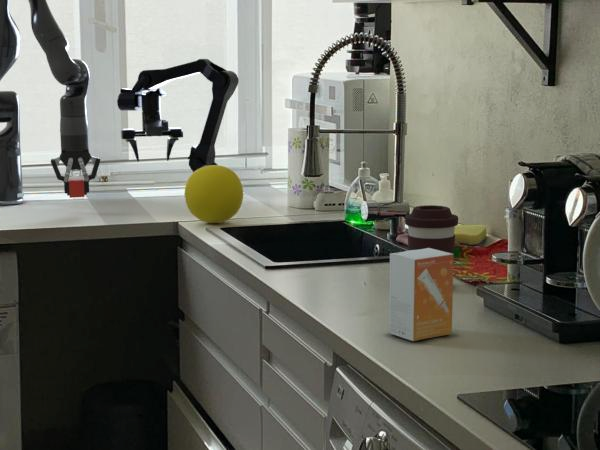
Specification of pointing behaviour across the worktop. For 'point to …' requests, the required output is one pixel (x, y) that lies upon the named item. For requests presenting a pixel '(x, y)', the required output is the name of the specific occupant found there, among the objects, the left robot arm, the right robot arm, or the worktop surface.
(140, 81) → the right robot arm
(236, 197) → the toy
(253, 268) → the worktop surface
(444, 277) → the small box
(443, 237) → the coffee cup
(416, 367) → the worktop surface
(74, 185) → the red block
